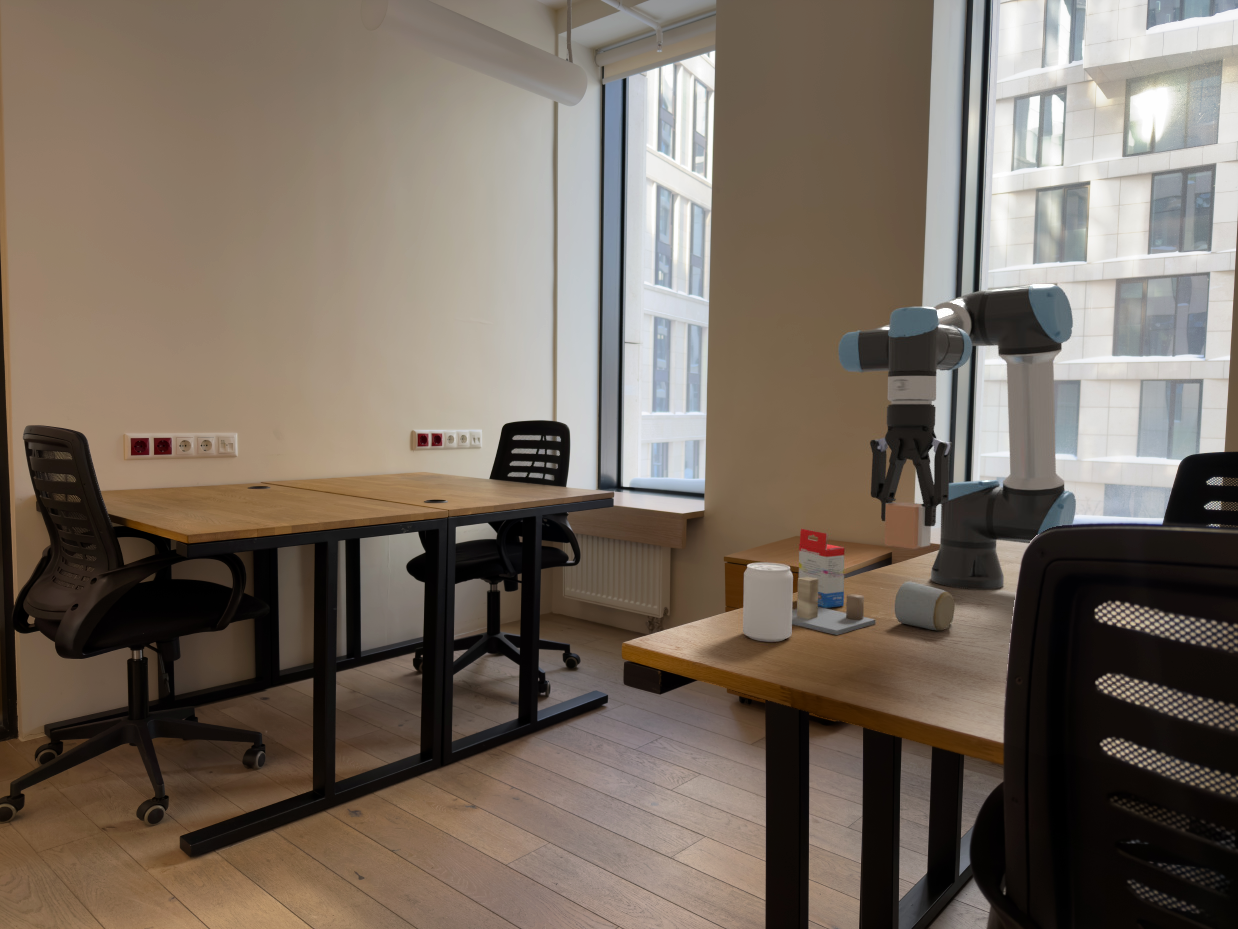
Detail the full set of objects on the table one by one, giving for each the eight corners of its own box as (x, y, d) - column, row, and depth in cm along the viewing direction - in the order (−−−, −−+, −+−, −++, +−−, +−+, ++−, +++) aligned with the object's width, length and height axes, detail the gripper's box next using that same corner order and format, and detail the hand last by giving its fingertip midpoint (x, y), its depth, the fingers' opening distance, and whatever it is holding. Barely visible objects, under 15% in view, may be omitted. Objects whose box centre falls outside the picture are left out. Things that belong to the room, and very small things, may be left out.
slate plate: (810, 609, 157) (811, 584, 157) (875, 623, 147) (876, 597, 147) (771, 619, 150) (771, 593, 149) (836, 635, 139) (837, 607, 139)
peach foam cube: (901, 541, 139) (902, 502, 139) (929, 545, 135) (931, 504, 135) (884, 544, 136) (885, 504, 135) (913, 548, 132) (914, 507, 131)
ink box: (844, 606, 160) (846, 532, 159) (825, 609, 158) (827, 533, 157) (815, 597, 168) (817, 526, 167) (796, 600, 166) (798, 528, 165)
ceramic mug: (936, 635, 140) (938, 591, 139) (892, 625, 146) (894, 583, 145) (964, 626, 147) (966, 584, 146) (921, 617, 153) (923, 576, 152)
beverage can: (785, 645, 132) (786, 572, 132) (736, 639, 136) (738, 568, 135) (796, 633, 140) (797, 564, 139) (750, 628, 143) (751, 560, 142)
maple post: (805, 618, 150) (806, 576, 150) (817, 621, 148) (818, 578, 148) (796, 620, 149) (797, 578, 148) (808, 623, 147) (809, 580, 146)
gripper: (849, 403, 138) (846, 539, 140) (953, 402, 124) (948, 553, 126) (874, 403, 143) (870, 534, 145) (976, 403, 129) (971, 548, 131)
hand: (907, 543), depth 135 cm, fingers closed on peach foam cube, 5 cm apart
